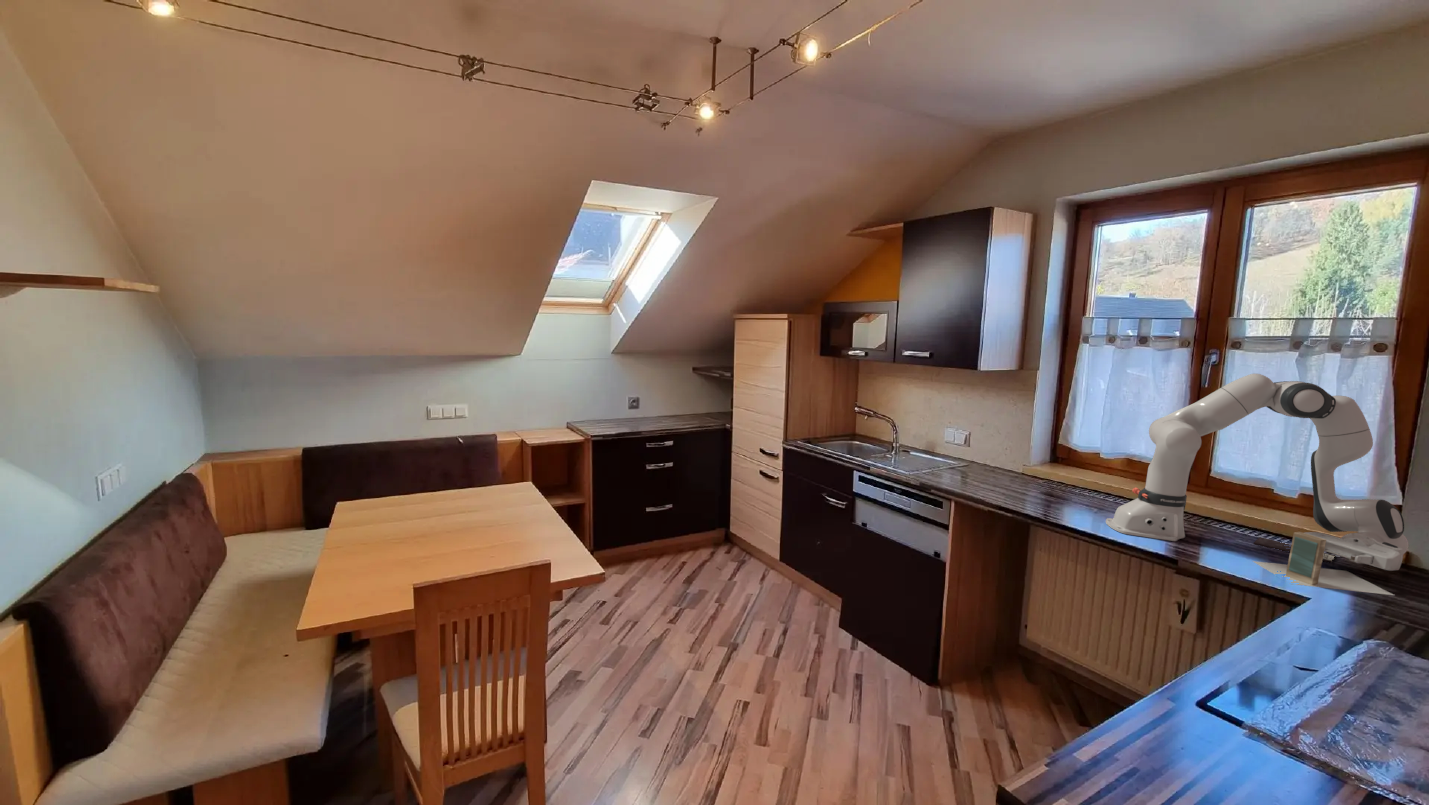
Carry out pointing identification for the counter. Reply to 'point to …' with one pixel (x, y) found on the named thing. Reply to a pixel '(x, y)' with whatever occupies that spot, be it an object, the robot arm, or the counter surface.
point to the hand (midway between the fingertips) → (1332, 552)
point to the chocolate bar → (1280, 546)
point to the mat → (1330, 579)
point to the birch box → (1305, 558)
